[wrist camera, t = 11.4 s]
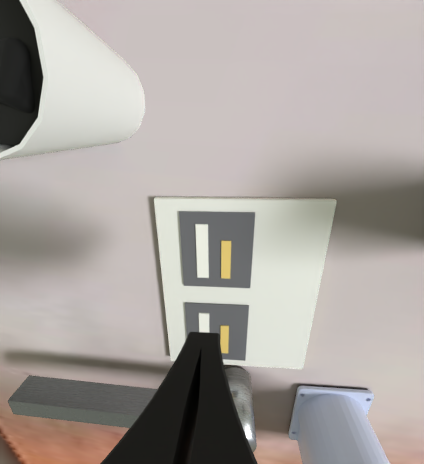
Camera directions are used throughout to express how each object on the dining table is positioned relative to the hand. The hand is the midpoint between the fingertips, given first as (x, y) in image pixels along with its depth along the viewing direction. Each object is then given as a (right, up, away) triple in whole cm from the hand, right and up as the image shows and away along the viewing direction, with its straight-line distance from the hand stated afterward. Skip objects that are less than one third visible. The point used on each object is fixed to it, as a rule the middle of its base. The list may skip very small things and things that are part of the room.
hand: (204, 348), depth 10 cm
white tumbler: (-7, +15, +6) cm, 18 cm away
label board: (+3, 0, +11) cm, 12 cm away
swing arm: (-7, -10, +16) cm, 20 cm away
